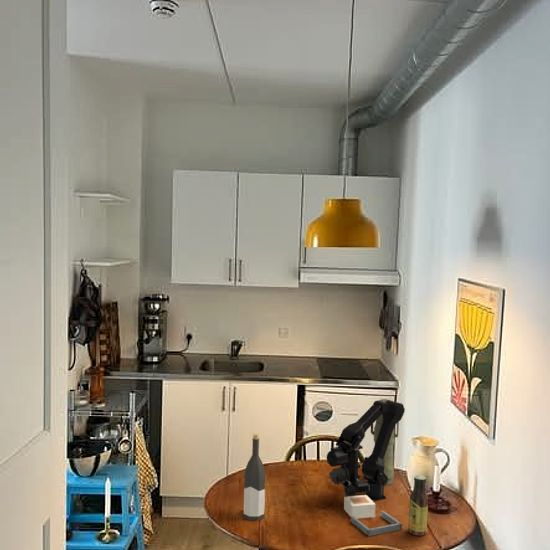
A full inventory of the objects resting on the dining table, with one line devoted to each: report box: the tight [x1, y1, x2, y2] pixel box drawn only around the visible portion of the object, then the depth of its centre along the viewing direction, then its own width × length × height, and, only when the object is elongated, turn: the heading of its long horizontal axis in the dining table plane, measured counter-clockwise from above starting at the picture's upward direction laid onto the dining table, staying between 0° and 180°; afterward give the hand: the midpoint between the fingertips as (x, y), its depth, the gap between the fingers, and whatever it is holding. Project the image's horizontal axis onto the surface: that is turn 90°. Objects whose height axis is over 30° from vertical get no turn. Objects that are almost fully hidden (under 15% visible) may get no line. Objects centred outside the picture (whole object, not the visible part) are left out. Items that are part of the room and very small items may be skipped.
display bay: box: [350, 510, 403, 537], centre depth 206 cm, size 14×12×2 cm
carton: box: [343, 494, 377, 520], centre depth 216 cm, size 9×8×5 cm
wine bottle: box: [243, 433, 266, 522], centre depth 211 cm, size 8×8×30 cm
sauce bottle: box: [408, 474, 429, 536], centre depth 202 cm, size 7×6×20 cm
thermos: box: [370, 399, 400, 487], centre depth 247 cm, size 9×12×35 cm
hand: (349, 501), depth 223 cm, fingers closed
